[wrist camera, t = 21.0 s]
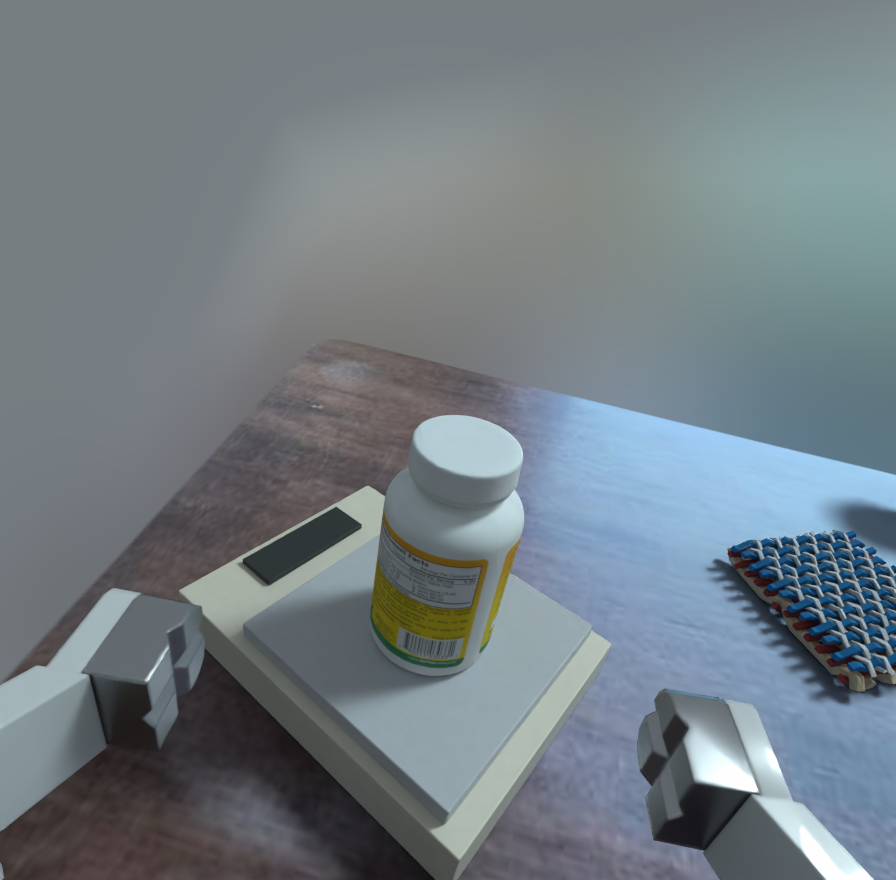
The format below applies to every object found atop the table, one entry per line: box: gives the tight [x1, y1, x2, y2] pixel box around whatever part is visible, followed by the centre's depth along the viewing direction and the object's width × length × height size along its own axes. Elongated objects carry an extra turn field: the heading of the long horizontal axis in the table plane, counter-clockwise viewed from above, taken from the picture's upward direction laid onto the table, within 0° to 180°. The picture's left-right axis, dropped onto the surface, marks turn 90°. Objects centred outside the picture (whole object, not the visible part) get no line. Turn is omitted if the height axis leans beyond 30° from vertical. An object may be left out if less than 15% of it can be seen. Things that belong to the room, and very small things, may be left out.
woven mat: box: [727, 530, 896, 691], centre depth 35 cm, size 10×11×2 cm
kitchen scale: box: [179, 486, 612, 880], centre depth 27 cm, size 16×12×3 cm
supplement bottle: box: [370, 415, 524, 676], centre depth 23 cm, size 5×5×10 cm
